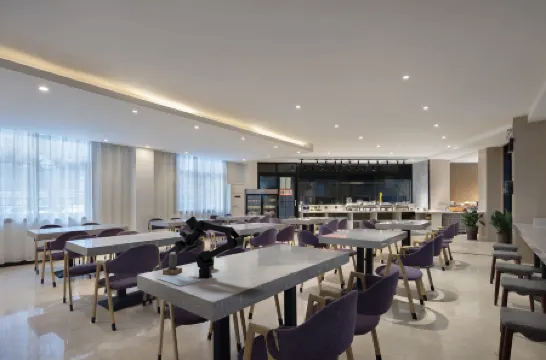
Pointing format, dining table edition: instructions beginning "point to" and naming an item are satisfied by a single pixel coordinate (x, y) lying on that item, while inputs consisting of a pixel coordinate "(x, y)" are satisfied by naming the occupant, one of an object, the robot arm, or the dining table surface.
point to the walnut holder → (172, 271)
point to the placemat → (178, 280)
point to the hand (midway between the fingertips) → (181, 252)
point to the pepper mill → (172, 261)
